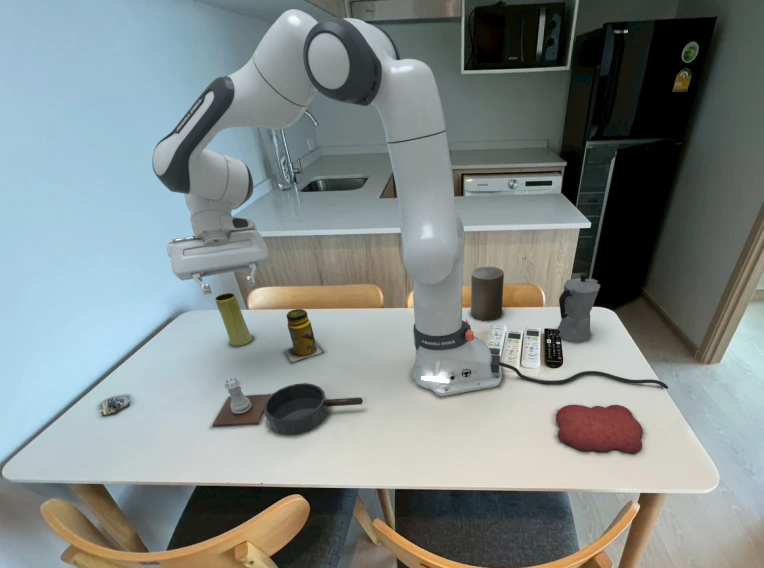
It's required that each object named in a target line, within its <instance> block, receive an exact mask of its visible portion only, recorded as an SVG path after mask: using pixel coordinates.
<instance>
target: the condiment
mask: <svg viewBox="0 0 764 568" xmlns="http://www.w3.org/2000/svg"><path fill="white" fill-rule="evenodd" d="M286 319H287V329H288V332H289V337H290V339H291V343H292V347H289V348H286V349H284V350H283V351H284V352H285V354H286V356H287V357H288V358H289V360H290V361H291V363H294V362H298V361H299V360H302V359H306V358H309V357H312V356H313V357H314V356H316V355H319V354H322V351H321V349H320V348H319V347H318V345H317V343H316V339H315V334H314V330H313V327H312V322H311V319H310V318H309V316H308V312H307V310H305V309H303V308H297V309H292V310H290V311H288V312H287V313H286Z"/></svg>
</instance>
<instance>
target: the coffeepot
mask: <svg viewBox="0 0 764 568" xmlns="http://www.w3.org/2000/svg"><path fill="white" fill-rule="evenodd" d="M587 277H588V274H585V273H581V274H580V278H579V277H578V278H571V279H567V280H566V281H565V283H564V284H563V291H562V293H561V294H560V296H559V298H558V304H559V313H560V318H561V320H560V322H559V325H558V328H557V331H558V330H559V331H560V333H559V335H558V337H559V338H560V339H562V340H564V341H566V342H571V343H582V342H585V341H587V340H588V339H589V337H590V335H591V312H592V309H593V307H594V304H595V302H596V299H597V296H598V295H599V294H598V293H599V291H600V288H601V284H599V283H598V282H599V280H598V279H595V278H587Z"/></svg>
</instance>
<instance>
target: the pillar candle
mask: <svg viewBox="0 0 764 568" xmlns="http://www.w3.org/2000/svg"><path fill="white" fill-rule="evenodd" d="M470 274H471V278H470V281H471V288H470V294H471V296H470V298H471V299H470V314H471V316H472V317H473V318H474V319H476V320H480V321H485V322H486V321H494V320H497V319H500V318H501V316H502V315H503V296H504V277H505V271H504V270H503V269H501V268H499V267H496V266H489V265H488V266H481V267H477V268H474V269H473V270H472V271H471V273H470Z"/></svg>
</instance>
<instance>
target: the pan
mask: <svg viewBox="0 0 764 568" xmlns="http://www.w3.org/2000/svg"><path fill="white" fill-rule="evenodd" d="M270 395H271V396H270V397H269V398H268V399H267V400H266V402H265V404H264V412H263V414H264V416H265V418H266V421H267V424H268V426H269V428H270V429H271V430H272V431H274V432H275V433H277V434H279V435H285V436H295V435H301V434H304V433H308V432H310V431H312V430H314V429H315V428H318V426H320V425H321V424H322V423H323V422H324V421H325V420H326V418H327V416H328V414H329V406H325V400H326V399H327V397H326V393H325V390H324V389H323V388H321V386H318V385H316V384H314V383H309V382H303V383H301V382H300V383H293V384H290V385H286V386H284V387H281V388H279V389H278V390H276V391H274V392H273V393H271V394H270Z"/></svg>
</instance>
